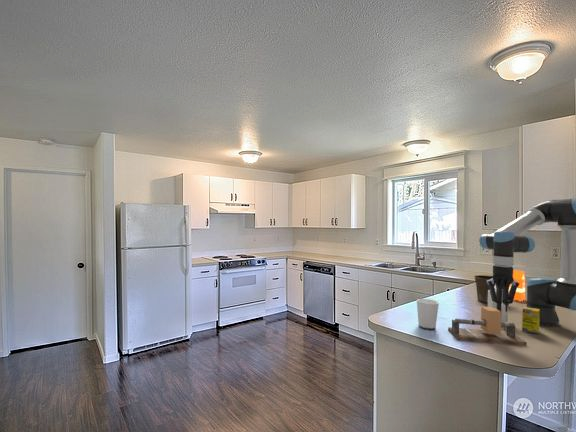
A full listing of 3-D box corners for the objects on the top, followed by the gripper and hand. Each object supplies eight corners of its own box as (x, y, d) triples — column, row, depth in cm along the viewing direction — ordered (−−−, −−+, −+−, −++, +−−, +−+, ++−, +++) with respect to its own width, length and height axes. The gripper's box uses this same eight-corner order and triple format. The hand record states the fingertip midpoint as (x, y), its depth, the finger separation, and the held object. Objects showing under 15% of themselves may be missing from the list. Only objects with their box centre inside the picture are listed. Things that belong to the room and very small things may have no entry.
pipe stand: (510, 335, 142) (510, 318, 142) (526, 345, 130) (526, 327, 130) (448, 330, 146) (448, 314, 146) (458, 340, 134) (458, 322, 134)
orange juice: (509, 297, 217) (510, 269, 218) (525, 300, 211) (525, 270, 211) (506, 298, 212) (506, 269, 213) (521, 301, 206) (522, 271, 206)
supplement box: (521, 331, 148) (522, 308, 148) (524, 328, 152) (524, 306, 152) (537, 334, 143) (538, 311, 144) (539, 331, 148) (539, 309, 148)
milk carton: (502, 319, 165) (503, 284, 165) (507, 323, 158) (508, 286, 159) (487, 318, 167) (488, 283, 167) (492, 322, 160) (492, 285, 161)
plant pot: (475, 303, 199) (476, 278, 199) (471, 297, 214) (472, 274, 214) (505, 306, 192) (506, 280, 193) (499, 300, 207) (500, 276, 207)
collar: (492, 329, 141) (493, 307, 141) (500, 334, 134) (501, 311, 134) (480, 328, 141) (481, 306, 142) (488, 333, 134) (488, 310, 135)
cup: (425, 331, 143) (426, 304, 143) (411, 324, 152) (412, 299, 153) (443, 330, 146) (443, 303, 146) (428, 323, 155) (428, 298, 155)
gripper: (514, 265, 140) (512, 317, 140) (483, 263, 142) (481, 315, 142) (524, 267, 133) (522, 322, 132) (491, 266, 134) (490, 320, 134)
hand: (501, 318), depth 137 cm, fingers closed
